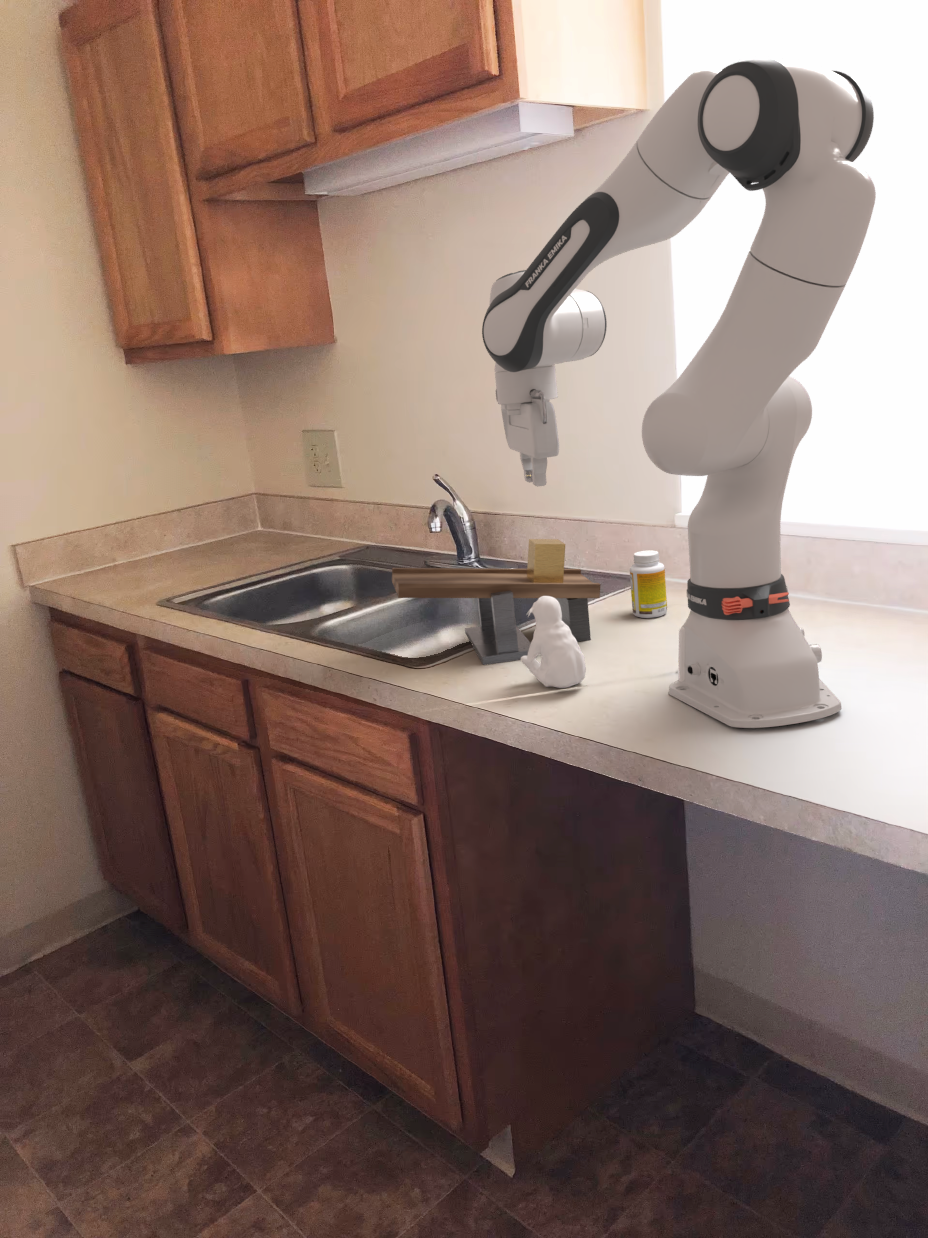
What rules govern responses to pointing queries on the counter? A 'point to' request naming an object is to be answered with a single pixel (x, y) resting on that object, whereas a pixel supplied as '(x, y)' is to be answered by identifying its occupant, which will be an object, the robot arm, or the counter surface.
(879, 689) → the counter surface
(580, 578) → the beam
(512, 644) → the trestle
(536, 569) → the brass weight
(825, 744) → the counter surface
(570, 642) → the white seated figurine
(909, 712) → the counter surface
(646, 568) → the supplement bottle
